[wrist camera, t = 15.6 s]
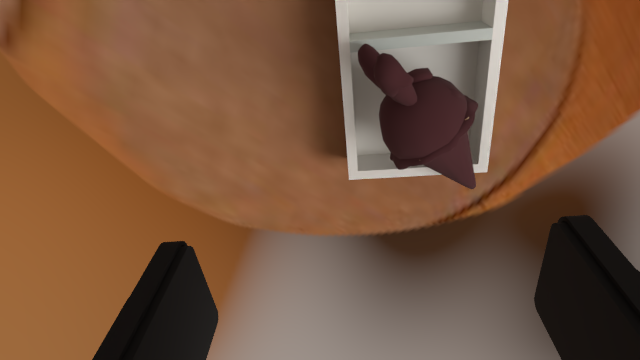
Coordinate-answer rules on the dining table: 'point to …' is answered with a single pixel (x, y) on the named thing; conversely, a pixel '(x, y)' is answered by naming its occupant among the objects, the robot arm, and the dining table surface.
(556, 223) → the robot arm
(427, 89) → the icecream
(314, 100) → the dining table surface
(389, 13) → the white divided tray
